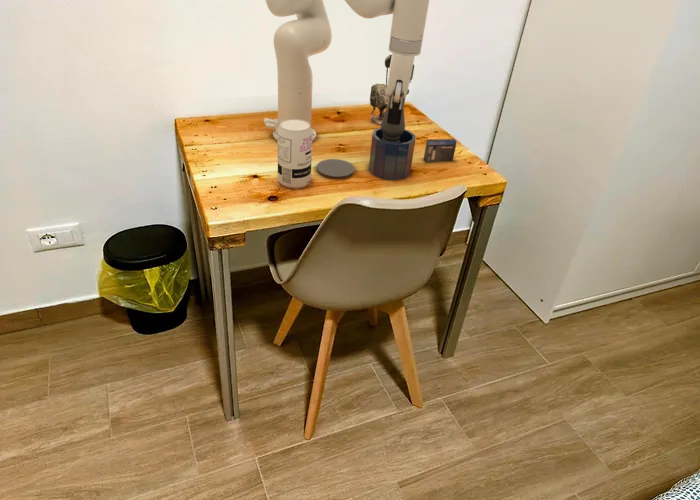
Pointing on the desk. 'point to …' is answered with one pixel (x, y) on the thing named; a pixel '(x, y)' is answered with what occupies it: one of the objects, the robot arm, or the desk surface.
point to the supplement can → (294, 153)
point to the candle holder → (392, 130)
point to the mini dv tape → (439, 150)
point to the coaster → (335, 169)
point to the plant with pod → (380, 96)
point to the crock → (391, 156)
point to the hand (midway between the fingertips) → (394, 118)
